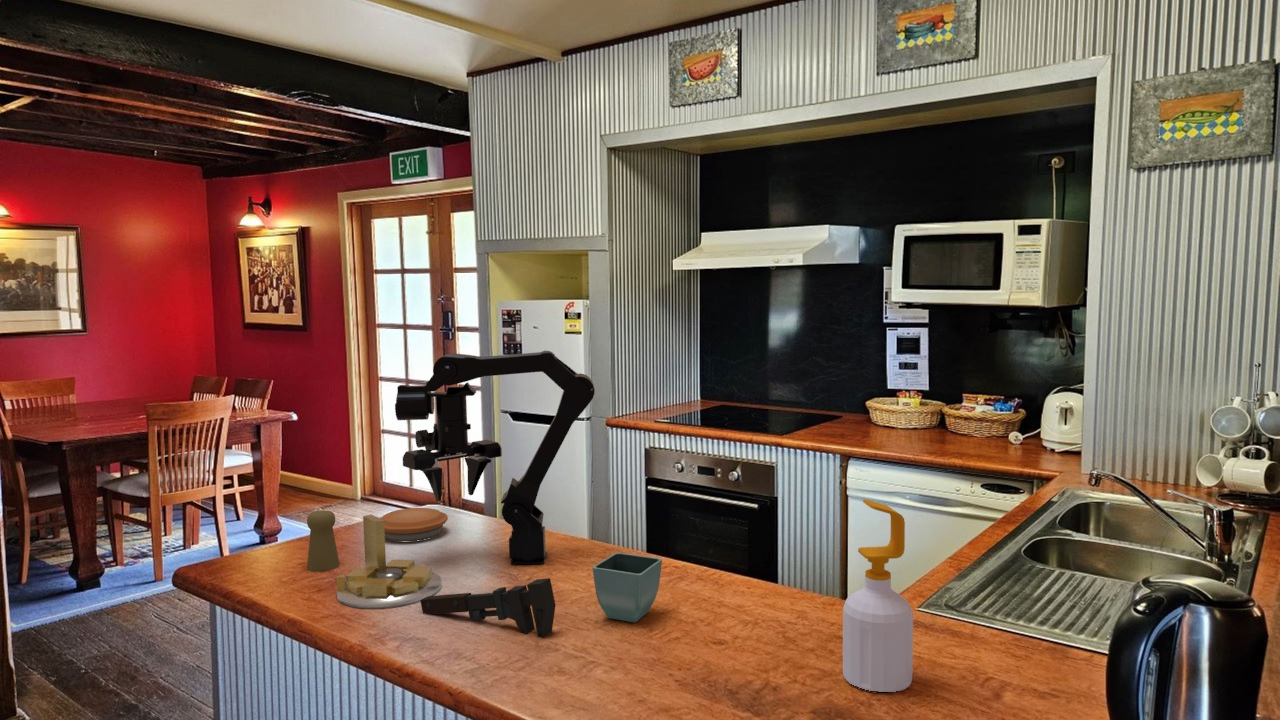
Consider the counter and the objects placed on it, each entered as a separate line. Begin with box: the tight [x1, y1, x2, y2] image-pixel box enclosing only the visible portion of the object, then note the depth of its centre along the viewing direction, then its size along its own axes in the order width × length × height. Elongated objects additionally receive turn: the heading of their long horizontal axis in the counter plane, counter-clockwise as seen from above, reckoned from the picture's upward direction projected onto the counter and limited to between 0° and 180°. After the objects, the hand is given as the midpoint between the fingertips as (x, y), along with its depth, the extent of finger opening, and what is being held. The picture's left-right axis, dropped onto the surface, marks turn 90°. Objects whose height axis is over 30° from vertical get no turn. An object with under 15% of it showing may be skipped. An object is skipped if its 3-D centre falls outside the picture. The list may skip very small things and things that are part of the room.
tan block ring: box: [345, 514, 432, 596], centre depth 155 cm, size 16×14×10 cm
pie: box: [379, 507, 449, 542], centre depth 190 cm, size 15×16×5 cm
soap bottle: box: [842, 498, 914, 693], centre depth 116 cm, size 9×9×25 cm
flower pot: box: [592, 552, 663, 623], centre depth 141 cm, size 9×9×9 cm
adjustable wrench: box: [419, 577, 556, 639], centre depth 139 cm, size 8×3×25 cm
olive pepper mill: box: [306, 509, 340, 573], centre depth 169 cm, size 6×6×11 cm
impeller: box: [336, 568, 442, 610], centre depth 155 cm, size 18×18×3 cm
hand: (454, 497), depth 169 cm, fingers open, 7 cm apart
